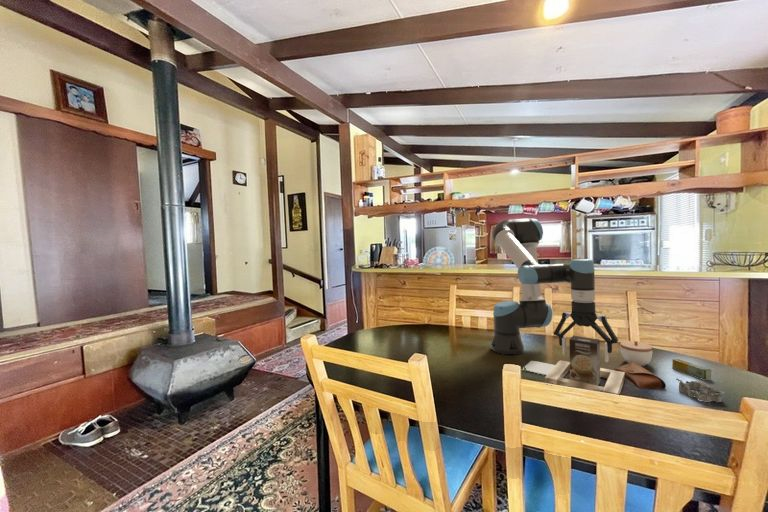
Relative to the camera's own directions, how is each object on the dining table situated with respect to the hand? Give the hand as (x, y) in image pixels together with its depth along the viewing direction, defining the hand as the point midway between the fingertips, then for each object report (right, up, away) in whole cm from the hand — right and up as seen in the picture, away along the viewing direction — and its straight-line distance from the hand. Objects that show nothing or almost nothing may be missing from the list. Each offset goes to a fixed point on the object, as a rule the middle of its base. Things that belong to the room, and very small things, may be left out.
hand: (584, 357), depth 120 cm
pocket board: (0, -9, +1) cm, 9 cm away
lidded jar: (+31, -7, +15) cm, 35 cm away
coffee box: (0, -9, +1) cm, 9 cm away
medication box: (+42, -7, +3) cm, 43 cm away
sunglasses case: (+21, -9, +1) cm, 22 cm away
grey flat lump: (+30, -9, -13) cm, 34 cm away
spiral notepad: (-10, -9, +14) cm, 20 cm away
